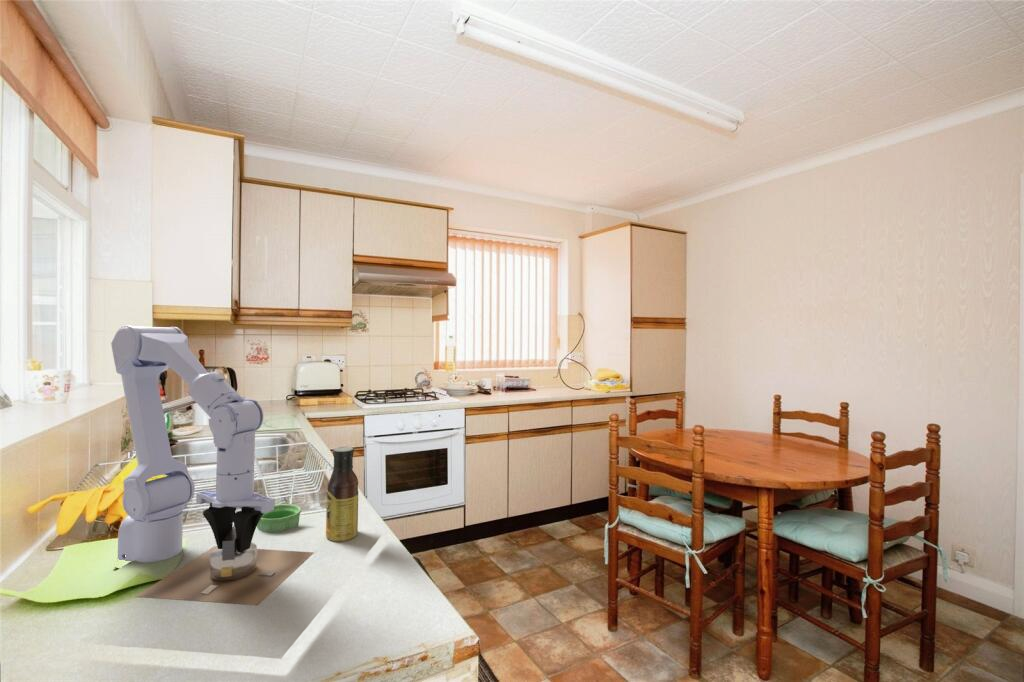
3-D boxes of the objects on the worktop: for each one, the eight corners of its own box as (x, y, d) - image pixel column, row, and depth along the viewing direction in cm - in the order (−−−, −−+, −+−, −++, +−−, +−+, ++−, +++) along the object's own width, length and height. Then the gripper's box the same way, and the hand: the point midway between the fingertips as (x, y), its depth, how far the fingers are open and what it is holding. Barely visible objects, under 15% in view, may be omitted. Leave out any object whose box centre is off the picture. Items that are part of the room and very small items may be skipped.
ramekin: (304, 534, 104) (304, 514, 103) (257, 543, 99) (257, 522, 98) (296, 520, 111) (297, 501, 111) (252, 528, 106) (253, 508, 106)
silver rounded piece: (216, 563, 86) (217, 526, 86) (260, 559, 88) (261, 522, 88) (201, 586, 78) (202, 545, 78) (249, 581, 80) (250, 541, 80)
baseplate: (135, 605, 75) (135, 595, 75) (214, 553, 93) (214, 545, 93) (257, 614, 74) (257, 603, 74) (313, 560, 92) (313, 551, 92)
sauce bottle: (330, 536, 103) (332, 444, 102) (360, 536, 103) (362, 444, 103) (321, 550, 96) (323, 451, 96) (353, 549, 97) (355, 451, 96)
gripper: (181, 472, 81) (179, 552, 81) (253, 481, 78) (251, 564, 78) (216, 462, 88) (214, 535, 88) (283, 469, 84) (281, 546, 85)
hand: (233, 548), depth 83 cm, fingers closed on silver rounded piece, 3 cm apart
